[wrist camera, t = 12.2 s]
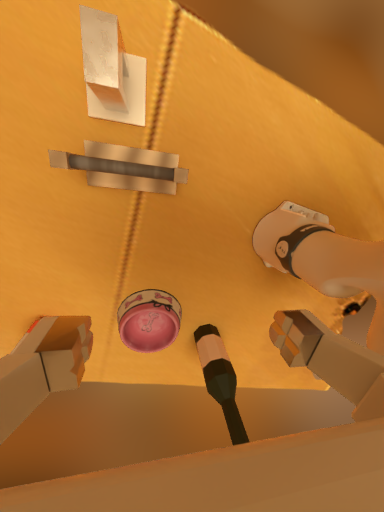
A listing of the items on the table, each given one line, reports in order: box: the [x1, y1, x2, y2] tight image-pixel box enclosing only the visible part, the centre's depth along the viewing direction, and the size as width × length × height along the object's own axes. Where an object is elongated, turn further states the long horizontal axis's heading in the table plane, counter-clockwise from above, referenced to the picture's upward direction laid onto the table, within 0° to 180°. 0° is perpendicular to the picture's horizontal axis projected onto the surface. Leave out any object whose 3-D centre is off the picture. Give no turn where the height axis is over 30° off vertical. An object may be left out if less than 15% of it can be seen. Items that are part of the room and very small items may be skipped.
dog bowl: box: [117, 289, 182, 353], centre depth 53 cm, size 18×19×7 cm
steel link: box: [79, 4, 129, 114], centre depth 28 cm, size 4×7×12 cm, turn 173°
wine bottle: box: [194, 324, 249, 445], centre depth 49 cm, size 8×8×30 cm
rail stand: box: [48, 140, 189, 195], centre depth 33 cm, size 18×8×16 cm, turn 83°
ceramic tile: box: [86, 53, 147, 127], centre depth 34 cm, size 10×10×1 cm
